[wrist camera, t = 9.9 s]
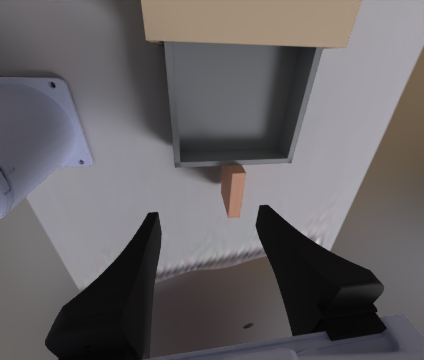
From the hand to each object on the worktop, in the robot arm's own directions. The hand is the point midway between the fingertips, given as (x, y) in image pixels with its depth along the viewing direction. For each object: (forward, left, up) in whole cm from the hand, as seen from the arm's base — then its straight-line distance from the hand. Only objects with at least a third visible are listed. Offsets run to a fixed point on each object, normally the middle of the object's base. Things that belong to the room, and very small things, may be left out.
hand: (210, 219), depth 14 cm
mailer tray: (+3, +6, -9) cm, 11 cm away
